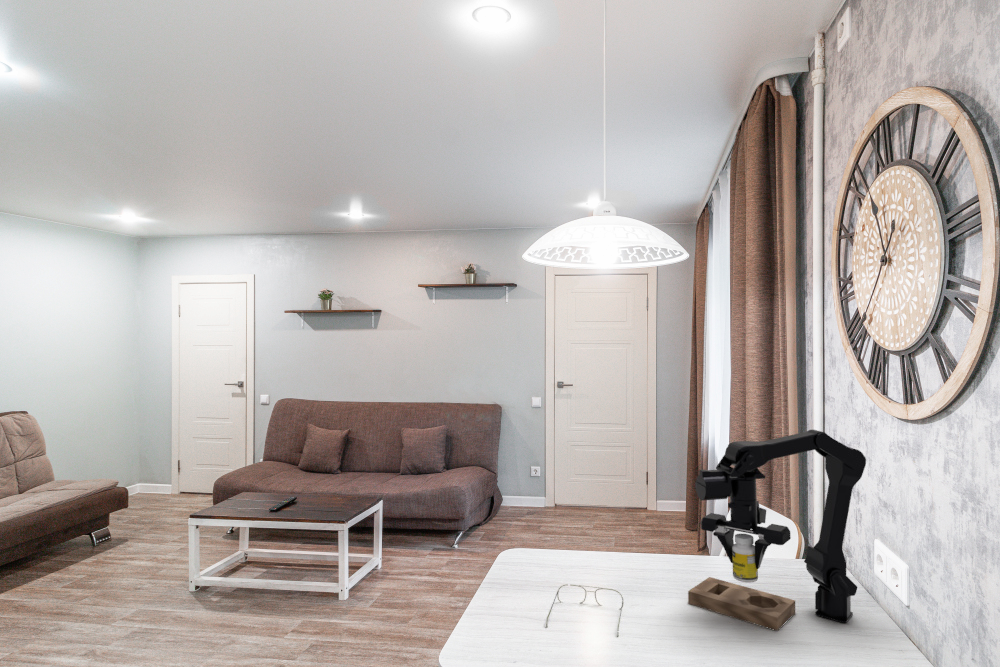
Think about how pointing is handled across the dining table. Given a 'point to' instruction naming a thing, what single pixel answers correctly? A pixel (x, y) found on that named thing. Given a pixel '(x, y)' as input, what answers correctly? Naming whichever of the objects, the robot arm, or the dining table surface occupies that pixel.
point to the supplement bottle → (744, 559)
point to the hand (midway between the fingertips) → (745, 565)
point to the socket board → (742, 602)
